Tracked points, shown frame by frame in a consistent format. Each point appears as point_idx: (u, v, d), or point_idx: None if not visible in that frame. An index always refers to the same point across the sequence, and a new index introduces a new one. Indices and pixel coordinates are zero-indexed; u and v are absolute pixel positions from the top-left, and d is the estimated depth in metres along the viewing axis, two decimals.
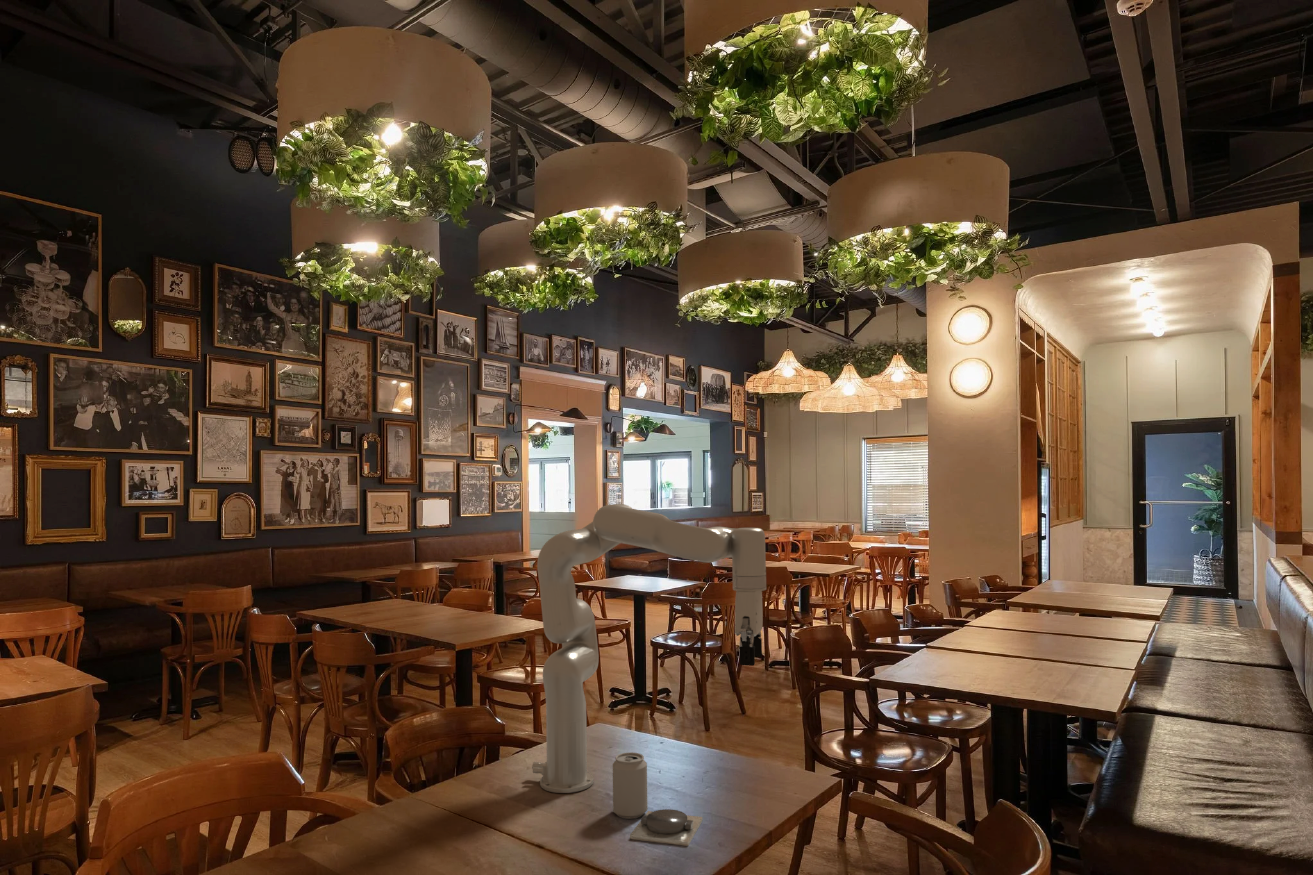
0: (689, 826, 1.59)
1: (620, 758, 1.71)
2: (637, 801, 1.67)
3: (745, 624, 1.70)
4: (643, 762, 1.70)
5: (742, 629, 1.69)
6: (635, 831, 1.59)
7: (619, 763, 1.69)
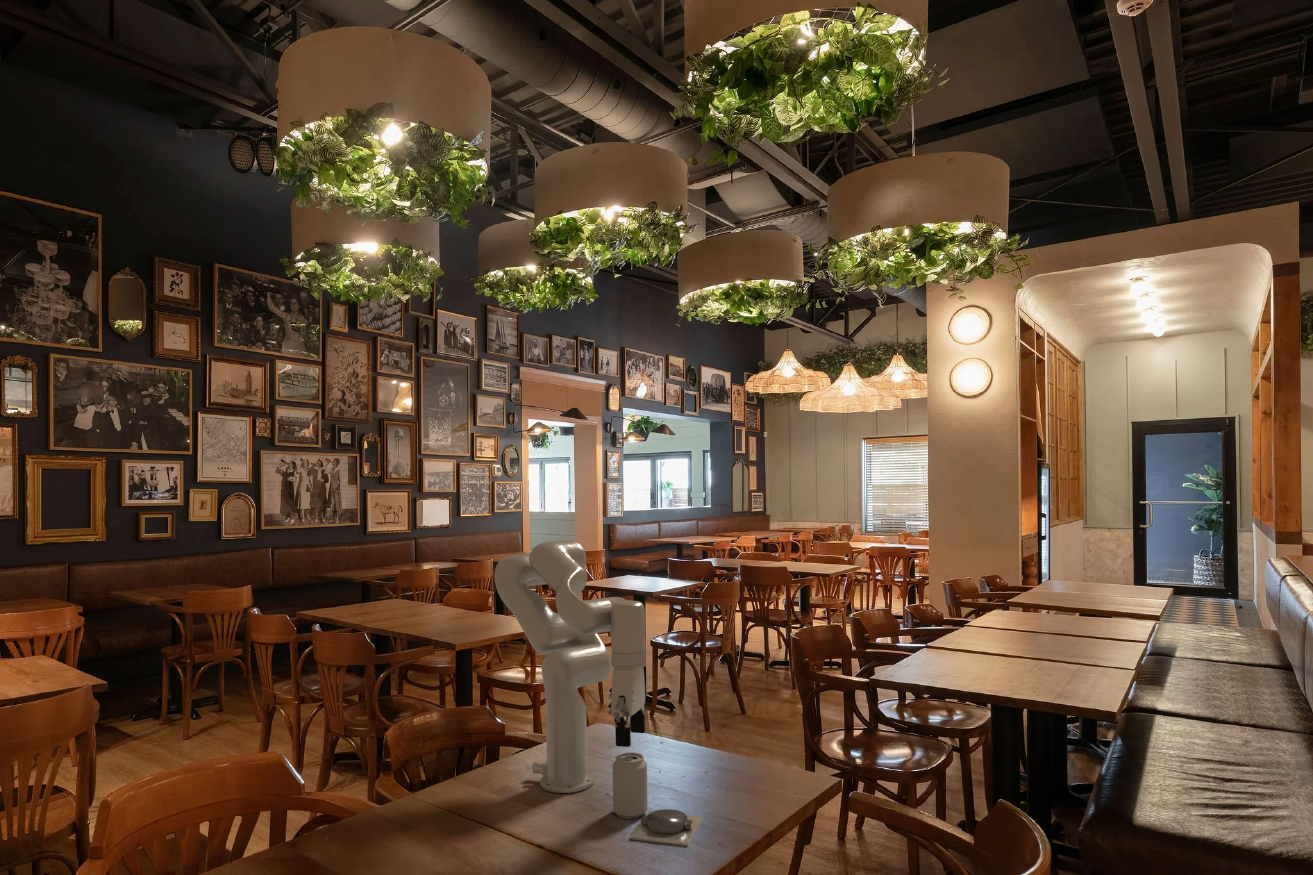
0: (689, 826, 1.59)
1: (620, 758, 1.71)
2: (637, 801, 1.67)
3: (619, 704, 1.65)
4: (643, 762, 1.70)
5: (615, 710, 1.63)
6: (635, 831, 1.59)
7: (619, 763, 1.69)
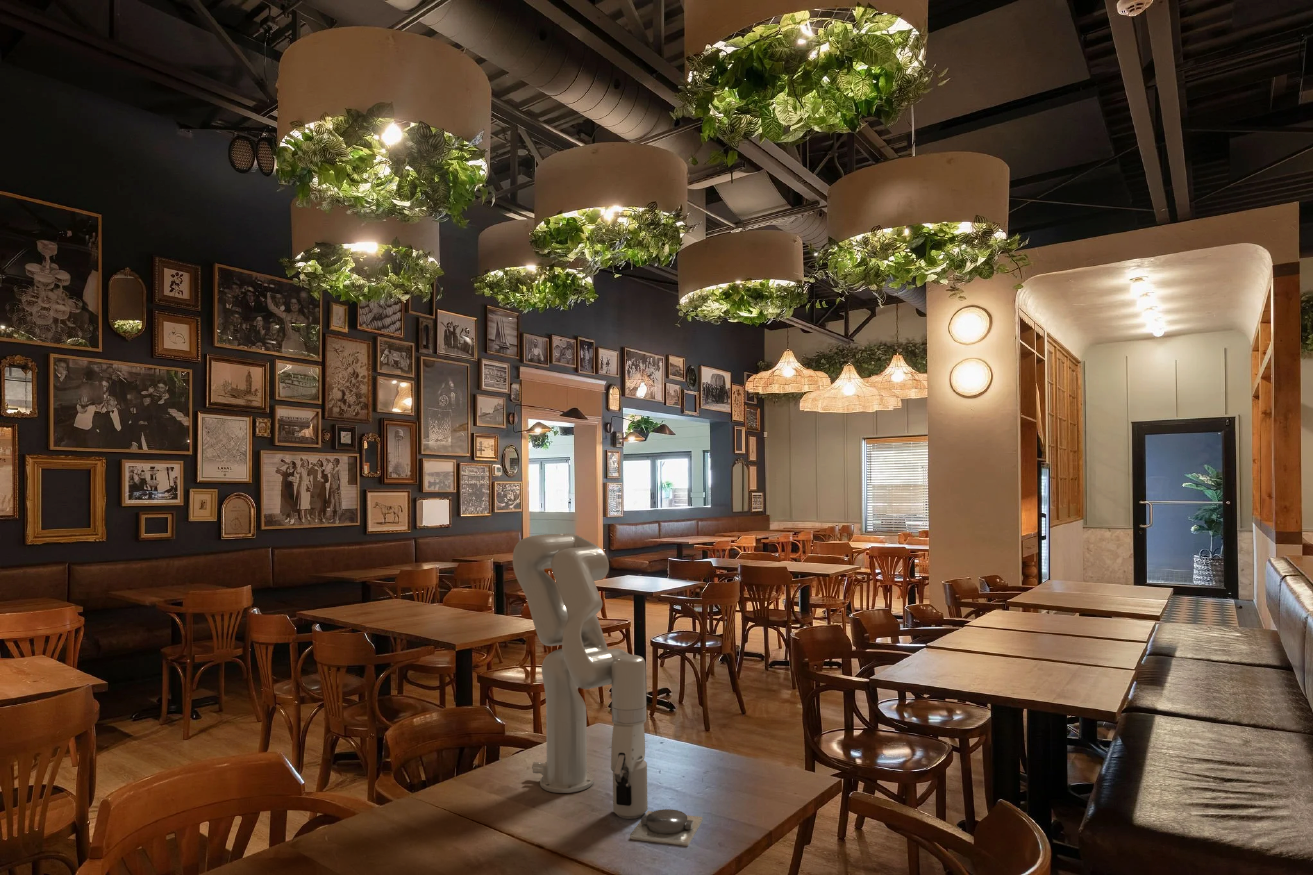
0: (689, 826, 1.59)
1: None
2: (637, 801, 1.67)
3: (620, 765, 1.64)
4: (643, 762, 1.70)
5: (615, 772, 1.63)
6: (635, 831, 1.59)
7: None
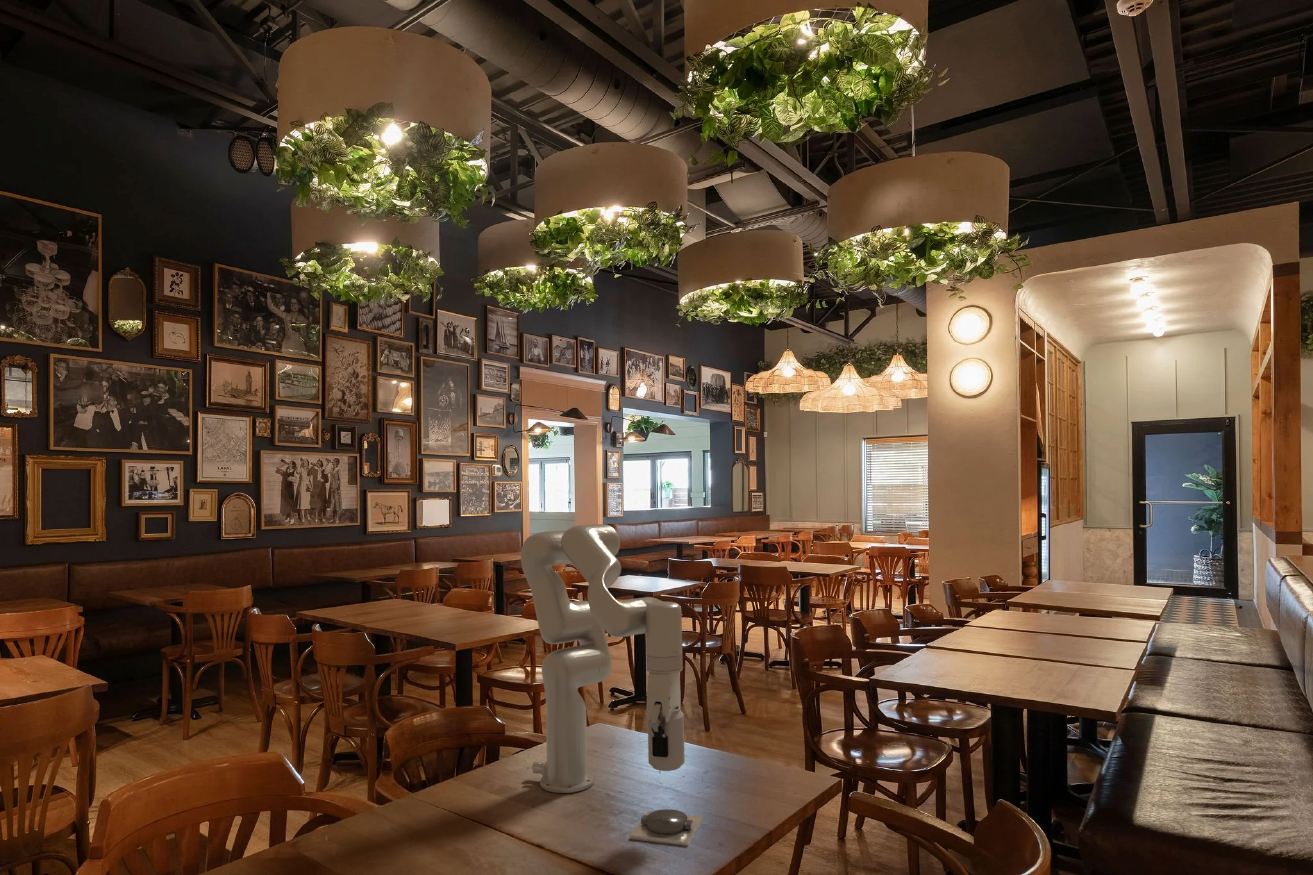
0: (689, 826, 1.59)
1: None
2: (674, 753, 1.59)
3: (656, 714, 1.56)
4: (680, 712, 1.62)
5: (652, 721, 1.55)
6: (635, 831, 1.59)
7: None
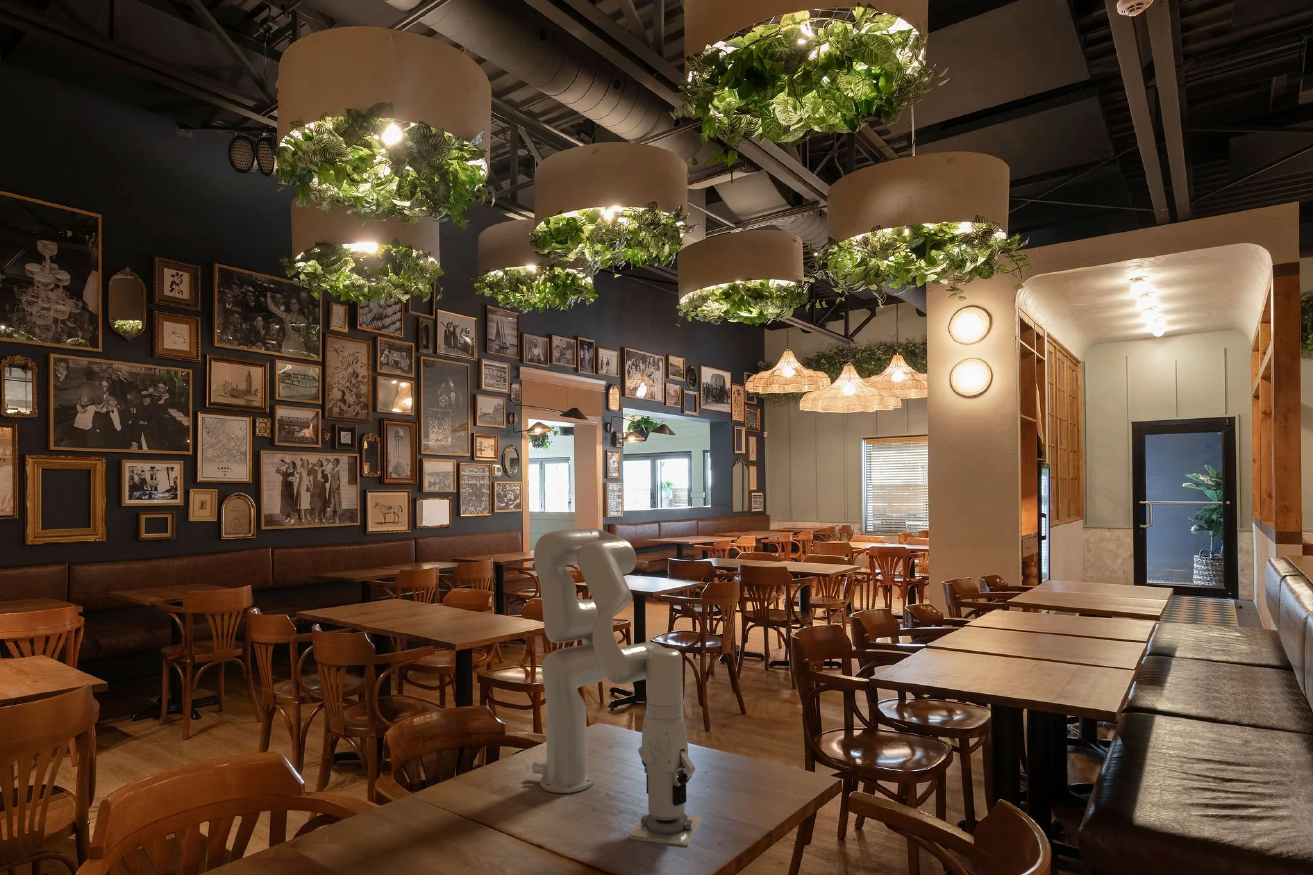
0: (689, 826, 1.59)
1: None
2: None
3: (689, 761, 1.58)
4: None
5: (692, 769, 1.56)
6: (635, 831, 1.59)
7: None
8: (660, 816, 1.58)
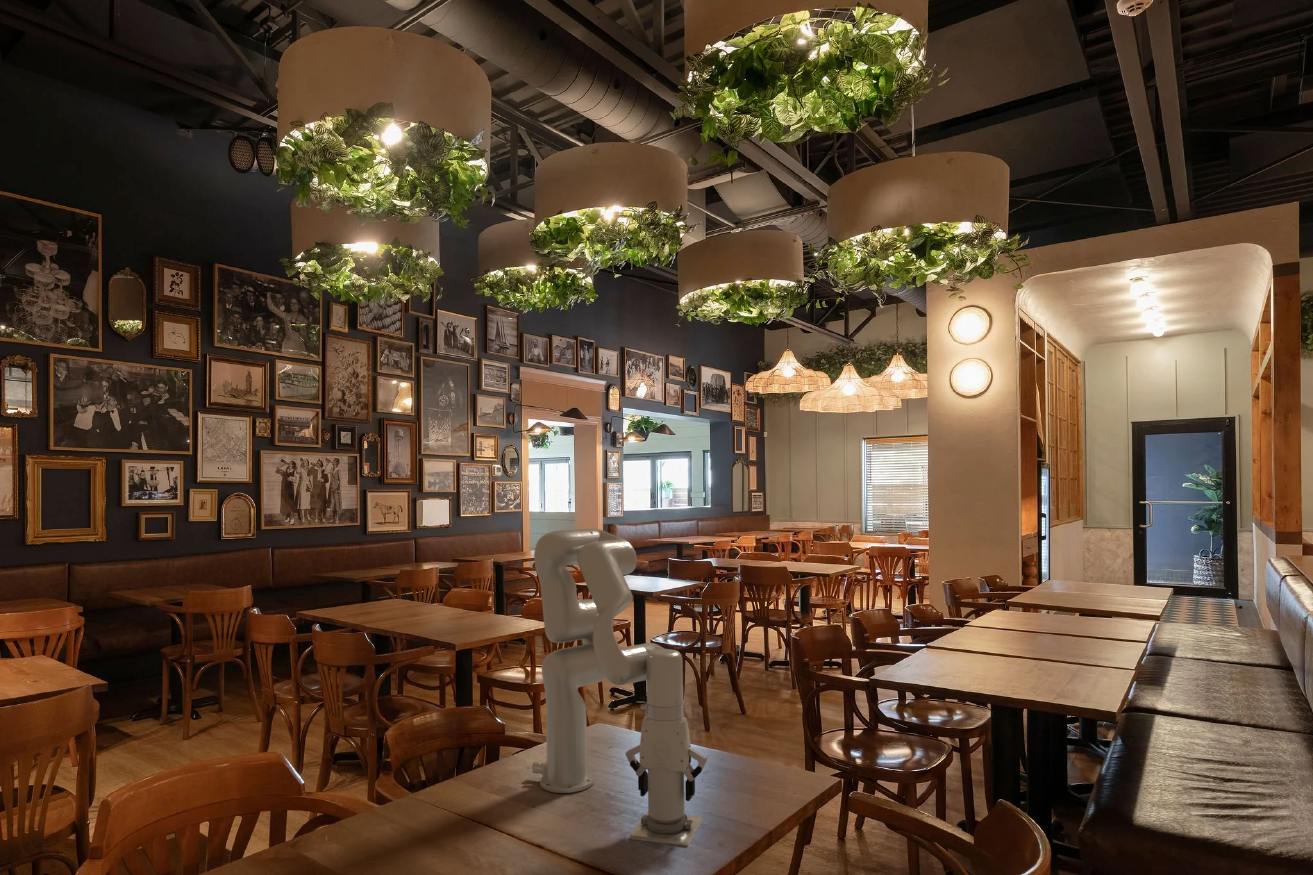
0: (689, 826, 1.59)
1: (662, 764, 1.60)
2: None
3: (699, 753, 1.61)
4: None
5: (706, 759, 1.60)
6: (635, 831, 1.59)
7: None
8: (670, 819, 1.58)
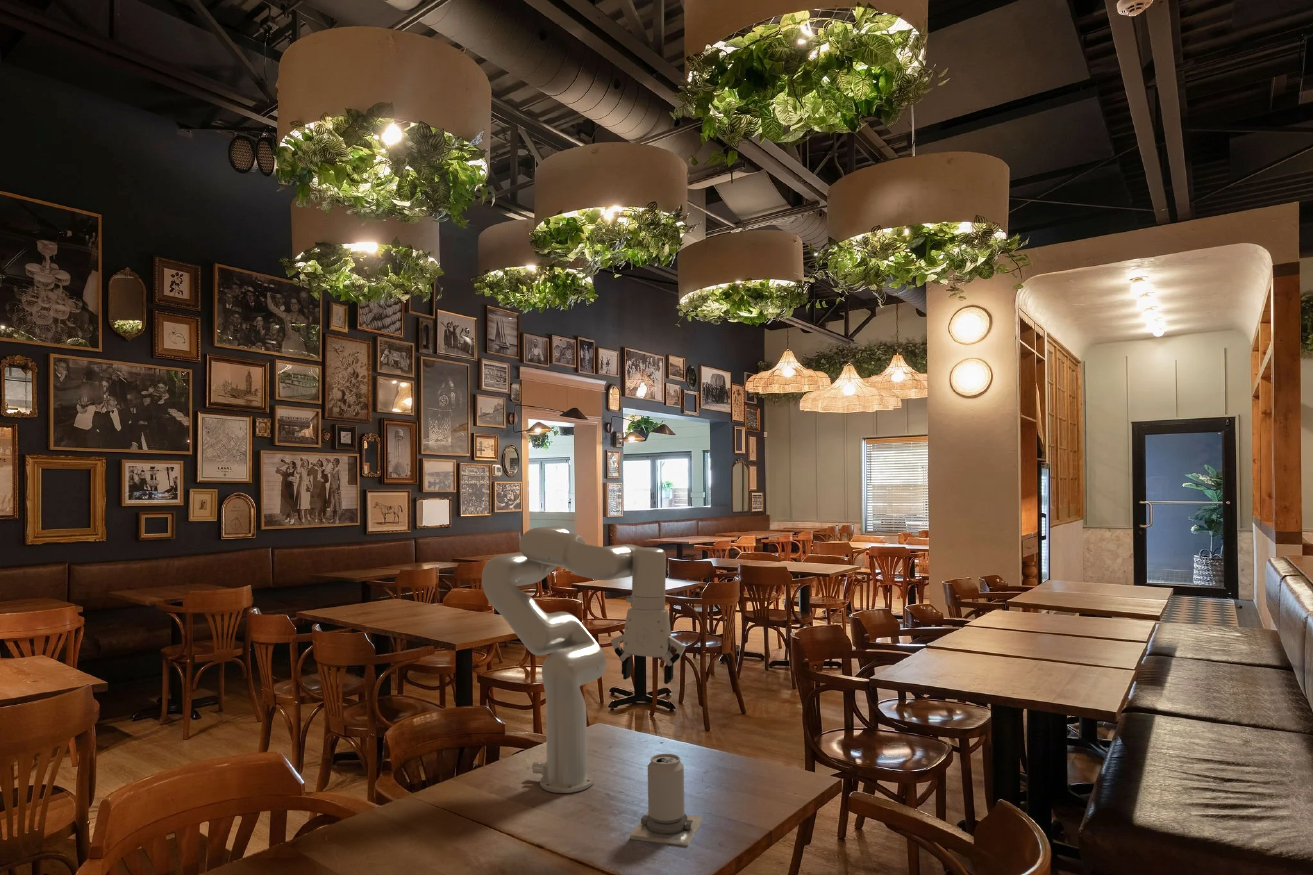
0: (689, 826, 1.59)
1: None
2: None
3: (678, 641, 1.74)
4: None
5: (684, 646, 1.74)
6: (635, 831, 1.59)
7: (675, 765, 1.60)
8: (670, 819, 1.58)
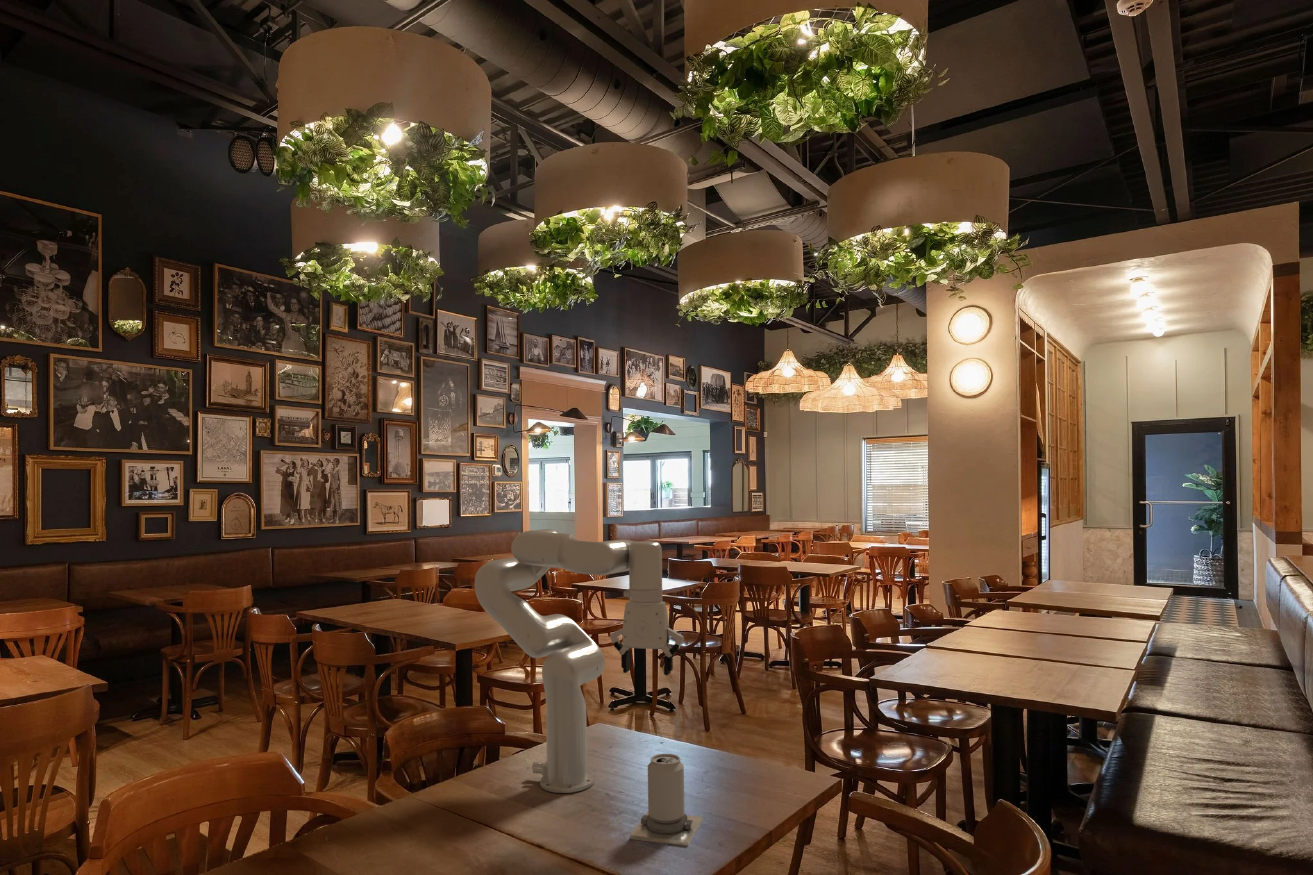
0: (689, 826, 1.59)
1: None
2: None
3: (676, 632, 1.77)
4: None
5: (682, 637, 1.76)
6: (635, 831, 1.59)
7: (675, 765, 1.60)
8: (670, 819, 1.58)
